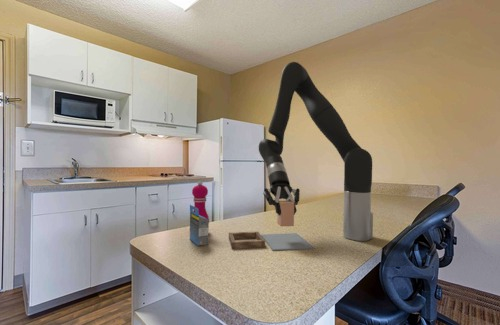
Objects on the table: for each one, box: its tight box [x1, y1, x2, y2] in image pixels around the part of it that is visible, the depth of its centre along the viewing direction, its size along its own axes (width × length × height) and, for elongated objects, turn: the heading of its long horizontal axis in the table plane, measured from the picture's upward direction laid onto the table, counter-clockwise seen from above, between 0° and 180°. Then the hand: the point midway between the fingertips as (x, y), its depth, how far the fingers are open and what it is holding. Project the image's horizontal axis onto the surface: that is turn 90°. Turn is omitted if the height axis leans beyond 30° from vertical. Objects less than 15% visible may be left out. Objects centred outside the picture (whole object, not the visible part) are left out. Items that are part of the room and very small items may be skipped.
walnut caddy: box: [228, 231, 266, 250], centre depth 84 cm, size 11×11×2 cm
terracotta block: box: [276, 200, 295, 227], centre depth 86 cm, size 4×4×8 cm
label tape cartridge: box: [189, 204, 210, 247], centre depth 84 cm, size 9×4×12 cm, turn 32°
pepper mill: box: [191, 180, 210, 221], centre depth 95 cm, size 7×7×20 cm
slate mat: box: [260, 232, 315, 252], centre depth 86 cm, size 14×16×1 cm
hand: (287, 213), depth 84 cm, fingers closed on terracotta block, 4 cm apart
